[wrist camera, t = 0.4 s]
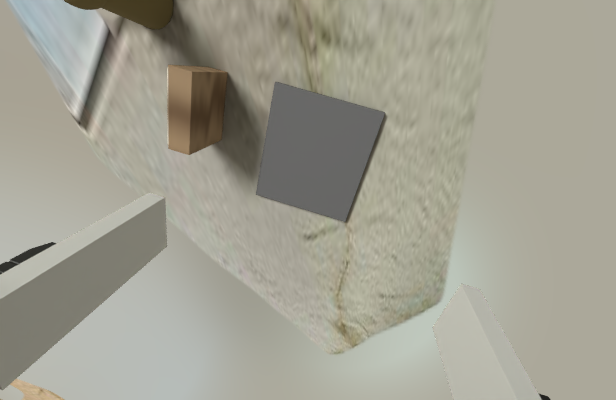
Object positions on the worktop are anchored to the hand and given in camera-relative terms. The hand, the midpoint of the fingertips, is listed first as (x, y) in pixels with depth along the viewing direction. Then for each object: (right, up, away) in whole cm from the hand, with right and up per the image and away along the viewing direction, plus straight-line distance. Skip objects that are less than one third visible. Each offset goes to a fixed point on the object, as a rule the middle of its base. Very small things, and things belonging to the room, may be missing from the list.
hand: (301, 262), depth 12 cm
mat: (+1, +9, +25) cm, 26 cm away
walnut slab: (-12, +16, +24) cm, 31 cm away
